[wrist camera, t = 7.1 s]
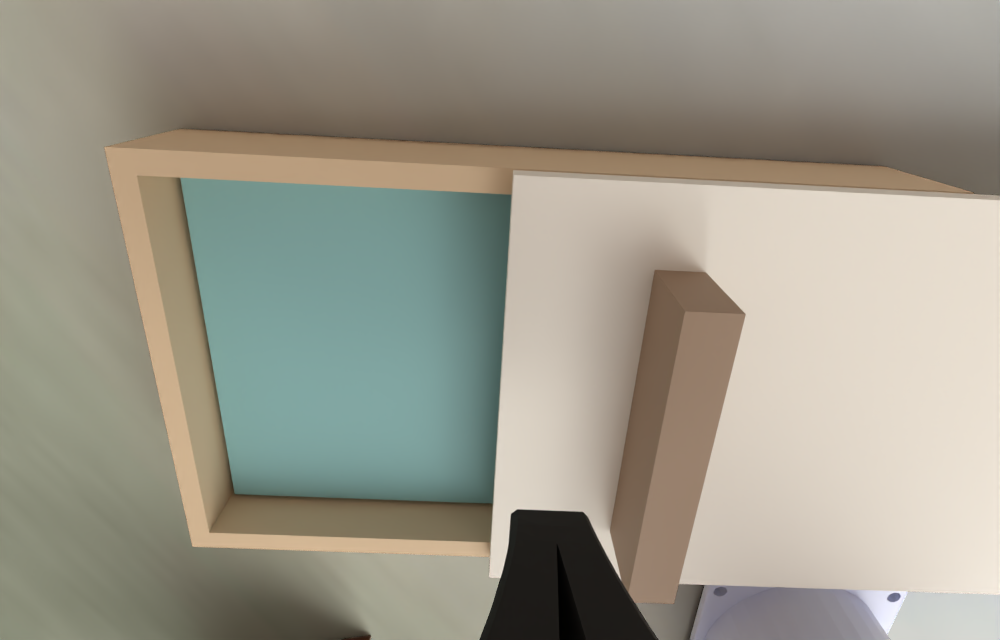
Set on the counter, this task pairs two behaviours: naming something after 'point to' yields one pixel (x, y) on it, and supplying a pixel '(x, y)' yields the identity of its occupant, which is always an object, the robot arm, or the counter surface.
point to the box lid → (755, 381)
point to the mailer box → (348, 323)
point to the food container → (359, 638)
